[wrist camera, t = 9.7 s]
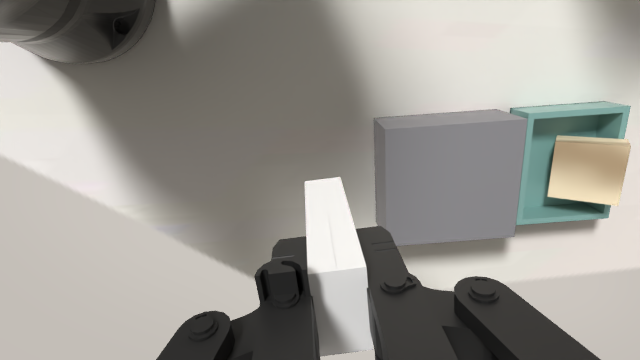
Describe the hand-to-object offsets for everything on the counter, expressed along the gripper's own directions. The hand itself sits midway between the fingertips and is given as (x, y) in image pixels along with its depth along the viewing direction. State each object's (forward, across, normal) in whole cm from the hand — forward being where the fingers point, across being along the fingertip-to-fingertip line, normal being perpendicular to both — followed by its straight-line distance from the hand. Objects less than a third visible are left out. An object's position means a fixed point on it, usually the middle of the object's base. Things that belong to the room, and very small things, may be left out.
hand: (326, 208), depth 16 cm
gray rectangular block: (+25, +13, -8) cm, 29 cm away
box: (+24, +26, -9) cm, 36 cm away
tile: (+20, +26, -9) cm, 34 cm away
